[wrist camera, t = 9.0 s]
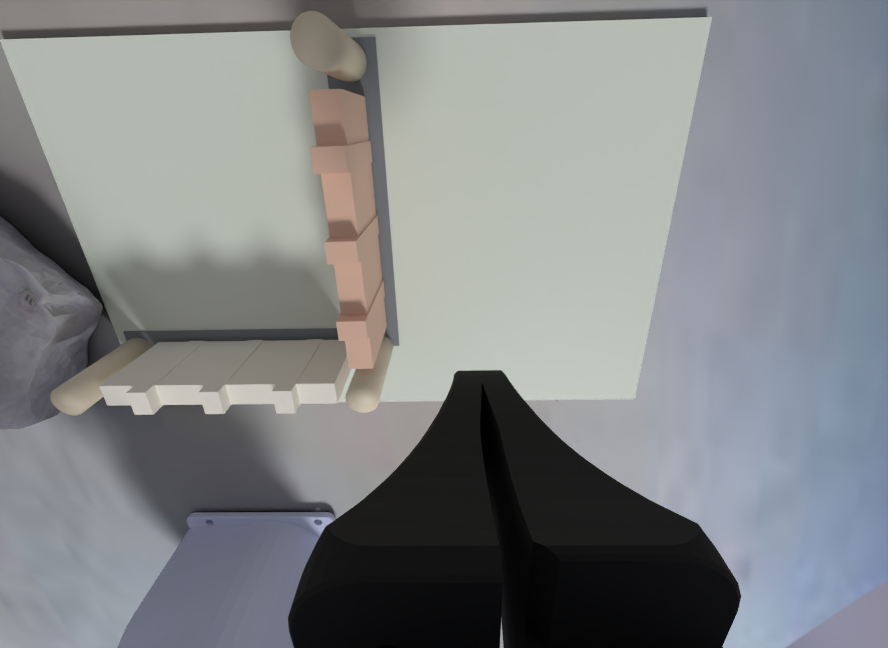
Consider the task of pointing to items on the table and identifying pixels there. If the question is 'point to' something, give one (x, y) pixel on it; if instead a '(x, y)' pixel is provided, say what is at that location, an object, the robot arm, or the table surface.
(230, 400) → the fence fixed
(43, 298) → the stone block
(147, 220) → the card
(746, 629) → the table surface
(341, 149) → the fence panel
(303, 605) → the robot arm
